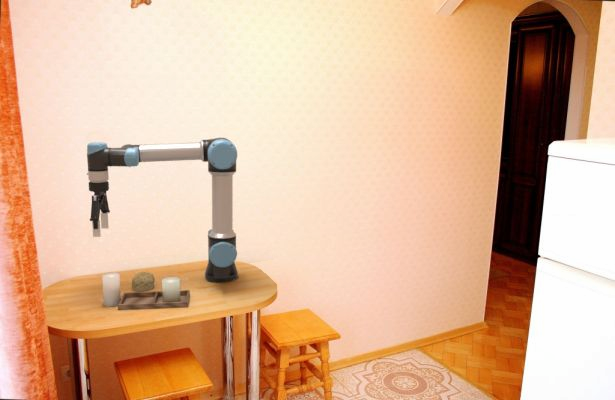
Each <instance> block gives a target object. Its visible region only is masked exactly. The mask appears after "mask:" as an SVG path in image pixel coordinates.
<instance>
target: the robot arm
mask: <svg viewBox="0 0 615 400" xmlns="http://www.w3.org/2000/svg"><path fill="white" fill-rule="evenodd" d="M86 147H87V148H86V149H87V150H86V157H87V173H86V175H87V176H88V191H89V192H91V193H93V195H91V208H90V209H91V210H90V219H89V222H92V223H91V225H92V237H93V238H100V237H102V236H101V235H102V234H101V229H107V230H108V229H109V214H110V212H111V211H110V208H109V202H108V196H107V191H109V190H110V187H109V185H110V183H109V181H108V180H109V167H123V168H124V167H125V168H126V167H128V168H132V167H137V166H139V165H140V164H139V163H151V162H176V161H178V162H179V161H197V160H198V161H202V162H203V163H207V168H208V169H207V172H208V173H209V174H210V175H211V221H212V222H211V223H212V224H211V229H209V230H208V232H207V248H208V249H207V250H208V251H207V252H208V254H207V255H208V257H207V258H208V260H207V265H206V268H205V271H204V279H205V280H206V281H208V282H211V283H220V284H221V283H222V284H223V283H230V282H234V281H236V280H237V279H238V278H239V271H238V269H237V268H238V267H237V266H236V263H235V261H236V259H237V256H238V251H237V233H236V232H235V231H234V229H233V228H234V227H233V226H234V225H233V223H234V222H233V220H234V219H233V211H234V210H233V208H234V207H233V201H234V200H233V196H234V195H233V187H234V186H233V183H234V182H233V175H235V173H237V159H238V150H237V147H236V146H235V144H234V143H233V142H232V141H231V140H230V139H228V138H226V137H217V138H210V139H201V140H200V141H197V142H196V141H195V142H177V143H176V142H174V143H170V142H169V143H154V144H153V143H152V144H151V143H149V144H127V143H126V144H124V145H122V146H121V147H108V144H107V143H106V142H96V141H95V142H89V143H88V144H87V146H86Z"/></svg>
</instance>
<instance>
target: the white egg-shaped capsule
mask: <svg viewBox="0 0 615 400" xmlns="http://www.w3.org/2000/svg"><path fill="white" fill-rule="evenodd" d="M180 290H181V279H180V278H179V277H176V276H170V277H169V276H168V277H164V278H163V279H162V280H161V291H162V301H163V303H164V302H180V301H181V297H180Z"/></svg>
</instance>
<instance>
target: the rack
mask: <svg viewBox="0 0 615 400" xmlns="http://www.w3.org/2000/svg"><path fill="white" fill-rule="evenodd" d="M190 291H191V290H190V289H182V290H181V289H180V297H181V301H180V302H164V303H163V301H162V290H160V291H156V290H155V291H143V292H137V291H130V292H127V291H126V292H123V294H122V296H121V300H120V302H119V304H118V305H117V311H128V310H152V309H154V310H155V309H156V310H157V309H159V310H160V309H175V308H176V309H179V308H183V309H184V308H188V307H189V303H190V295H191V292H190Z"/></svg>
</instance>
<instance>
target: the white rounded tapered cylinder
mask: <svg viewBox="0 0 615 400" xmlns="http://www.w3.org/2000/svg"><path fill="white" fill-rule="evenodd" d="M101 277H102V278H101V279H102V281H101V282H102V294H103V295H102V296H103V297H102V298H103V306H105V307H109V308H110V307H116V306H117V307H118V304H119V302H120V300H121V298H122V296H121V277H120V272H118V271H117V272H116V271H111V272H110V271H109V272H106V273H103V274H102V275H101Z"/></svg>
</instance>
